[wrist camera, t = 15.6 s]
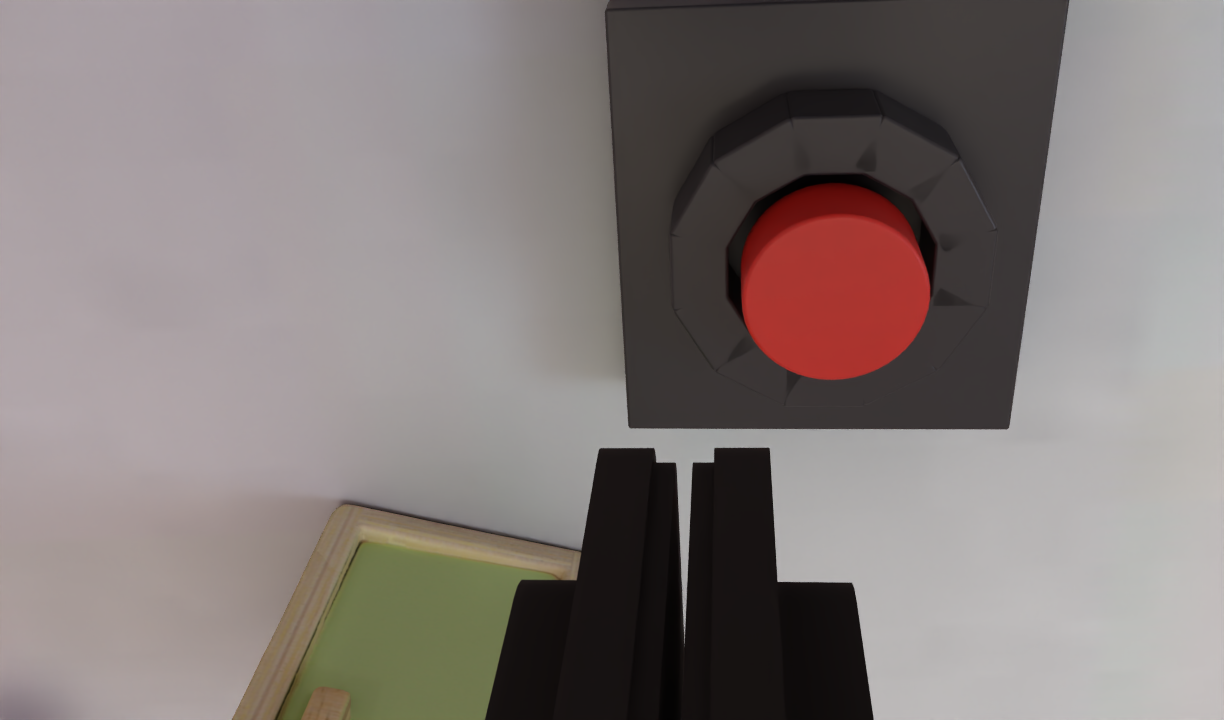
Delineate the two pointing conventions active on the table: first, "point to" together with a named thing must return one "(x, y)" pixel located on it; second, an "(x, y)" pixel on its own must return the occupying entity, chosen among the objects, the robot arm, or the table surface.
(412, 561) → the toy refrigerator
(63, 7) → the table surface
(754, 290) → the button
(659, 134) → the box
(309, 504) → the table surface
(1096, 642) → the table surface
